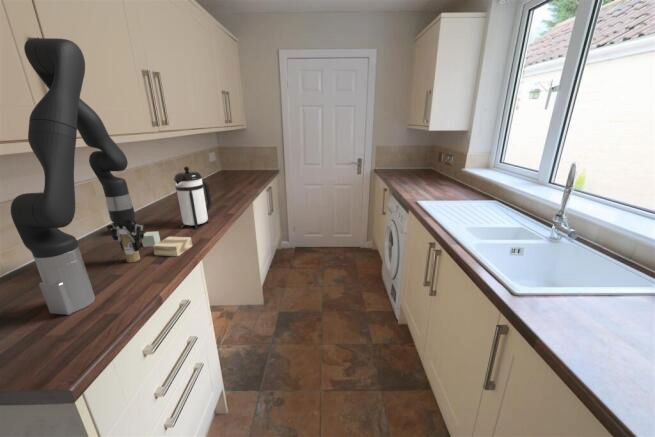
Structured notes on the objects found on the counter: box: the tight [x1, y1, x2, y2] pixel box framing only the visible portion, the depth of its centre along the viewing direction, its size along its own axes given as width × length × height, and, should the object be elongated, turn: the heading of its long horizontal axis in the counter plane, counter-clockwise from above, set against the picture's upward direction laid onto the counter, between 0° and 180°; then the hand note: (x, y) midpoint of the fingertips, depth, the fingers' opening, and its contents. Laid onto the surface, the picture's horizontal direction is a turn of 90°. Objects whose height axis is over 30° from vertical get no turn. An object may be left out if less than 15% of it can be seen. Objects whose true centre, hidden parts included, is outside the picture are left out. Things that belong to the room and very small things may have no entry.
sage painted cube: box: [140, 231, 161, 248], centre depth 124 cm, size 5×5×5 cm
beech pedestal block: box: [152, 236, 193, 257], centre depth 118 cm, size 10×10×4 cm
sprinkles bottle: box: [119, 229, 141, 263], centre depth 108 cm, size 5×5×14 cm
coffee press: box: [173, 166, 212, 230], centre depth 145 cm, size 17×16×30 cm
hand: (131, 250), depth 109 cm, fingers closed on sprinkles bottle, 4 cm apart
